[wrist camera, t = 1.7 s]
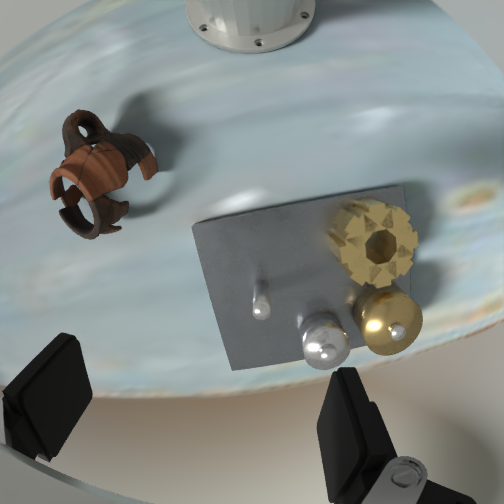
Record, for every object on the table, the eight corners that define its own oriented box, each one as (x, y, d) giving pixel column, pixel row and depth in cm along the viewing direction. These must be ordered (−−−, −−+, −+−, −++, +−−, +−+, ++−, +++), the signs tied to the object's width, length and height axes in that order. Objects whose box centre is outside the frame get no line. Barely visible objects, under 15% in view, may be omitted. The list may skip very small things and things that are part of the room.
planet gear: (394, 193, 26) (414, 198, 22) (400, 263, 27) (418, 277, 24) (324, 205, 26) (334, 211, 22) (334, 278, 28) (345, 295, 24)
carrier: (397, 185, 27) (429, 191, 21) (404, 327, 31) (428, 357, 25) (194, 223, 28) (176, 239, 22) (233, 362, 33) (227, 401, 26)
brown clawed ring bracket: (179, 194, 28) (123, 243, 22) (122, 209, 33) (73, 251, 27) (129, 82, 22) (56, 108, 17) (79, 120, 27) (20, 150, 21)
